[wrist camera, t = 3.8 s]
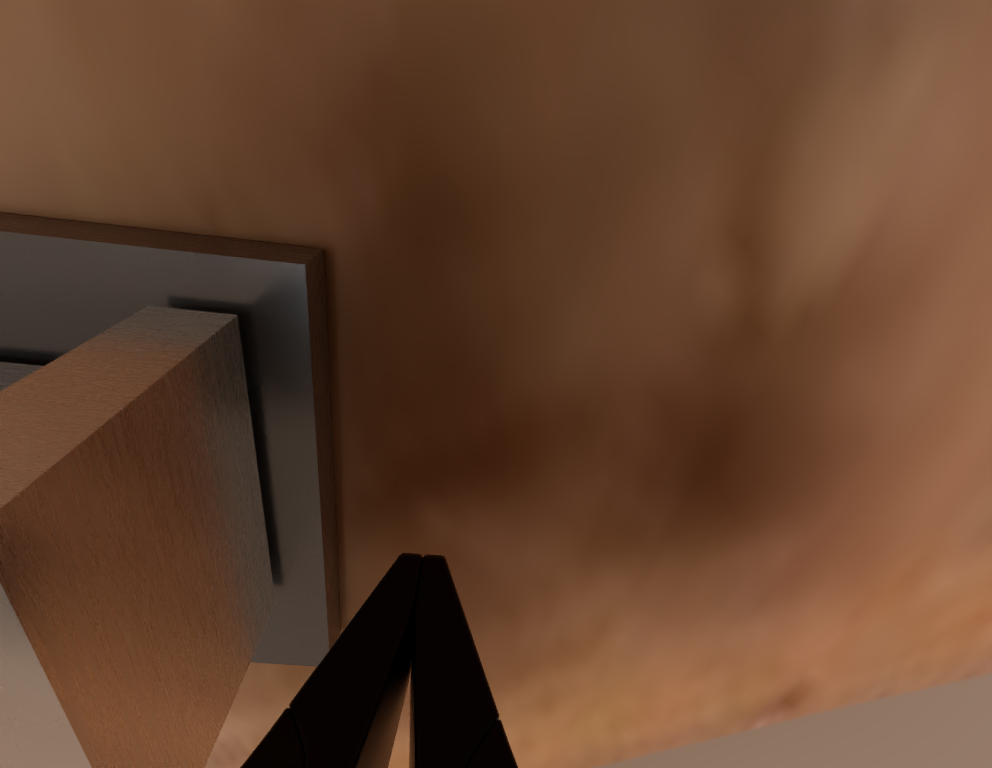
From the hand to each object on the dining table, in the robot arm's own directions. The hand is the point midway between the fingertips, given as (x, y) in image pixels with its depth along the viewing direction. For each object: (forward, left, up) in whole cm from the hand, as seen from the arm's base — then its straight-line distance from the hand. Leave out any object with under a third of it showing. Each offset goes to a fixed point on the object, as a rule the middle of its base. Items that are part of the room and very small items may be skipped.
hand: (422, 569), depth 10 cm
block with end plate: (+8, +1, -2) cm, 8 cm away
